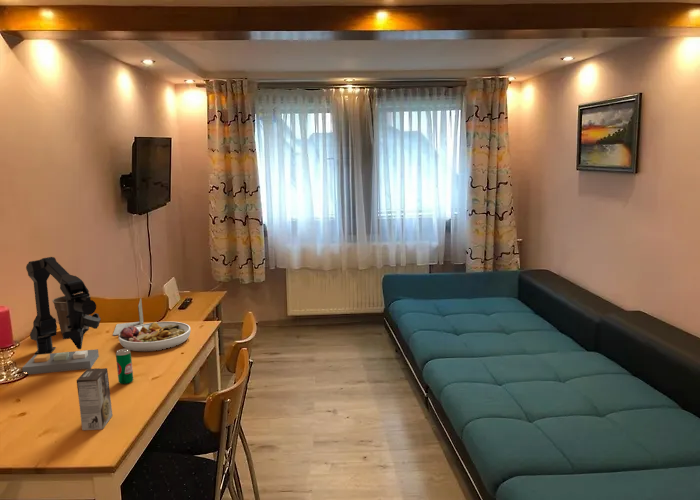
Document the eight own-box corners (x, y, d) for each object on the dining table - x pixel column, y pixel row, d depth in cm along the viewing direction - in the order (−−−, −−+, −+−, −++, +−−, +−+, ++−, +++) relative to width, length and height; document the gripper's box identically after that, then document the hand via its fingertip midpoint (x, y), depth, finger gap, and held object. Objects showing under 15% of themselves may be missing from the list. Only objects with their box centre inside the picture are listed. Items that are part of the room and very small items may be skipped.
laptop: (116, 325, 277) (114, 299, 275) (143, 322, 281) (141, 297, 278) (112, 336, 260) (109, 309, 258) (141, 333, 264) (138, 306, 261)
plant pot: (64, 326, 277) (60, 294, 274) (98, 324, 278) (95, 292, 276) (50, 337, 261) (46, 303, 258) (87, 335, 262) (83, 301, 260)
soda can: (128, 385, 203) (125, 353, 201) (115, 384, 204) (112, 352, 202) (136, 379, 208) (133, 348, 206) (123, 378, 209) (120, 347, 207)
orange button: (38, 362, 225) (37, 354, 224) (50, 360, 226) (49, 353, 225) (34, 365, 220) (34, 358, 220) (47, 364, 221) (46, 357, 221)
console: (35, 362, 229) (34, 354, 229) (98, 356, 234) (98, 349, 233) (23, 374, 216) (22, 367, 215) (90, 368, 220) (89, 361, 220)
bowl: (189, 328, 269) (188, 312, 268) (193, 348, 241) (191, 330, 240) (121, 336, 260) (120, 320, 259) (117, 358, 232) (115, 339, 231)
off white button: (76, 358, 227) (75, 351, 227) (88, 357, 228) (87, 350, 228) (73, 362, 223) (72, 355, 223) (85, 361, 224) (84, 354, 224)
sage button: (57, 360, 226) (56, 353, 226) (69, 359, 227) (68, 351, 226) (54, 364, 222) (53, 356, 221) (66, 363, 223) (65, 355, 222)
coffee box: (92, 417, 179) (86, 368, 176) (113, 415, 179) (108, 367, 177) (81, 430, 170) (75, 379, 167) (103, 429, 170) (97, 378, 168)
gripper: (91, 315, 215) (96, 355, 218) (102, 303, 233) (106, 339, 236) (60, 318, 213) (64, 357, 215) (73, 305, 231) (77, 342, 233)
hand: (79, 349), depth 225 cm, fingers closed
